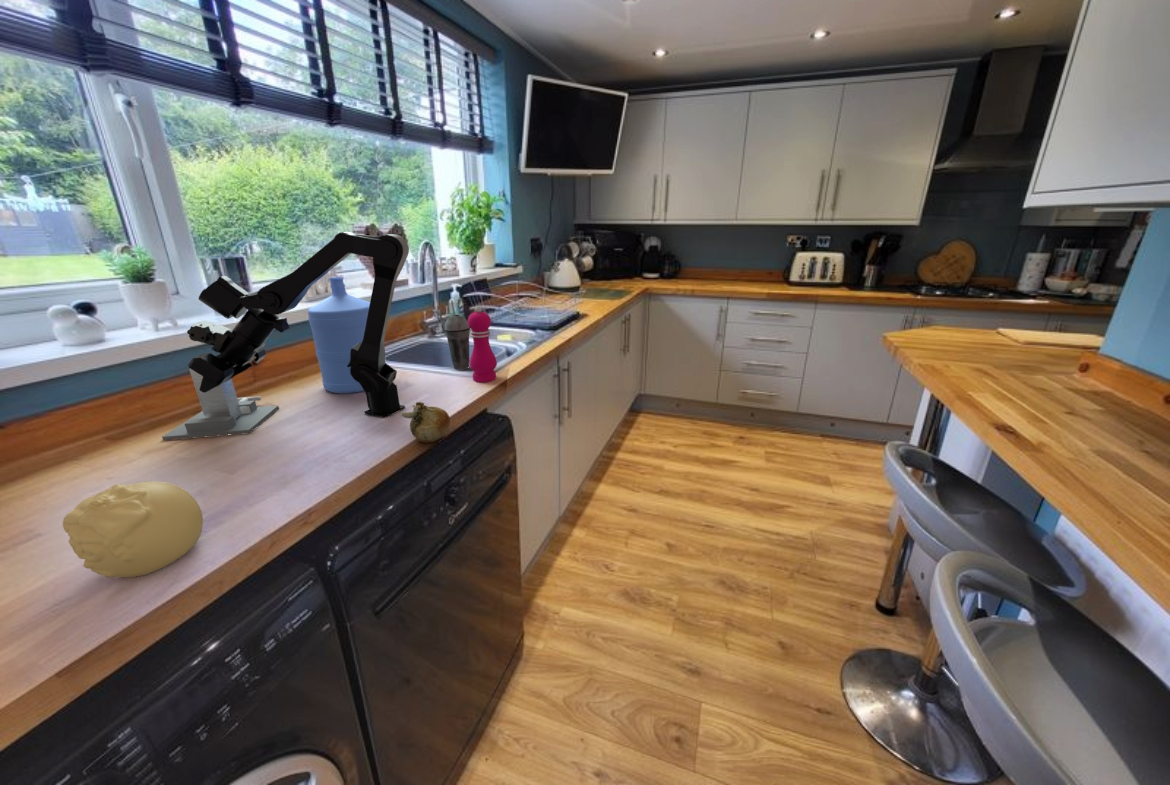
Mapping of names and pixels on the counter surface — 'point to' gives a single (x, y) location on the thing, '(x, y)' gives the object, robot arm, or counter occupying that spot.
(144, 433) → the counter surface
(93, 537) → the sculpture
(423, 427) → the onion
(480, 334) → the pepper mill
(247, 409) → the stepped grey baseplate
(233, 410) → the steel block
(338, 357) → the water jug
